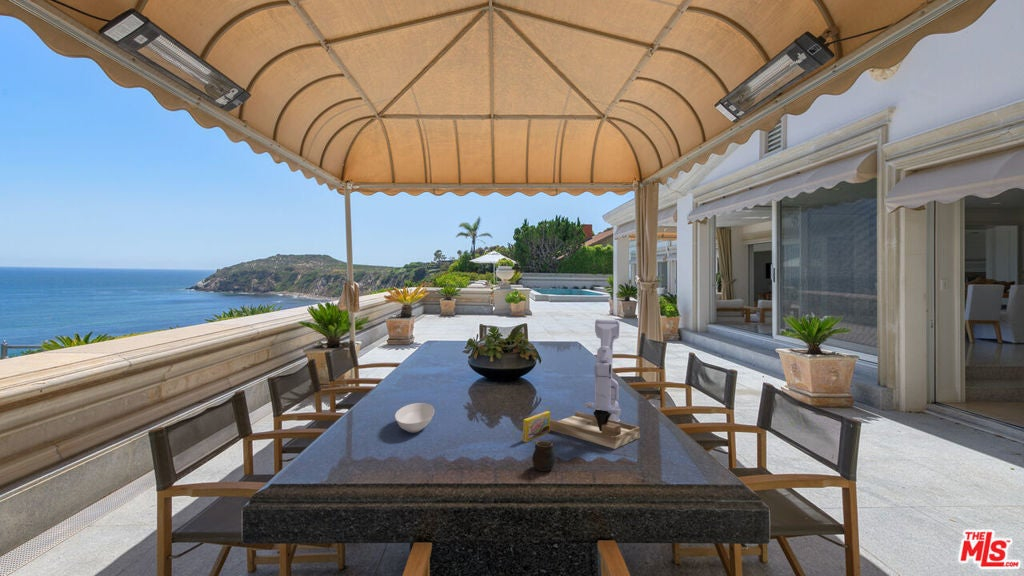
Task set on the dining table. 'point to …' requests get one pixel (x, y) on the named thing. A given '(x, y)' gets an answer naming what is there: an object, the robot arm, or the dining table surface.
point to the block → (611, 429)
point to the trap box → (594, 430)
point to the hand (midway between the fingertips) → (602, 430)
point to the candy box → (536, 426)
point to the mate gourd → (543, 456)
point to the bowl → (414, 416)
